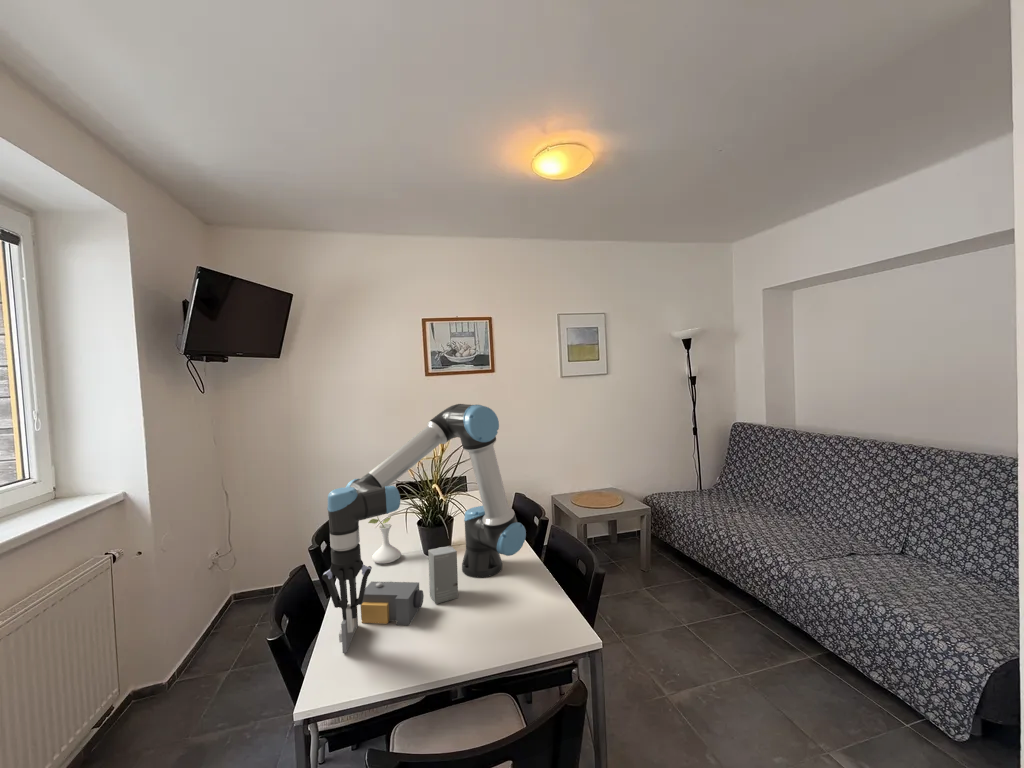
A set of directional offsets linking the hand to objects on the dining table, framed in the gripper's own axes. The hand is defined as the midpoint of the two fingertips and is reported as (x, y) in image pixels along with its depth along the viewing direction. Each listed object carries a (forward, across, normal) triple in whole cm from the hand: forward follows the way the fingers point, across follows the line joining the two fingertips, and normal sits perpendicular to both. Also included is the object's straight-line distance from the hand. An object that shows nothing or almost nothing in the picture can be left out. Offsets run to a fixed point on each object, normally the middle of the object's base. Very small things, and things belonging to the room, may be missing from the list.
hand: (350, 629), depth 121 cm
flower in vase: (+6, -2, -56) cm, 56 cm away
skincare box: (+6, -26, -21) cm, 34 cm away
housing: (+5, -9, -13) cm, 17 cm away
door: (+5, +1, -3) cm, 6 cm away
